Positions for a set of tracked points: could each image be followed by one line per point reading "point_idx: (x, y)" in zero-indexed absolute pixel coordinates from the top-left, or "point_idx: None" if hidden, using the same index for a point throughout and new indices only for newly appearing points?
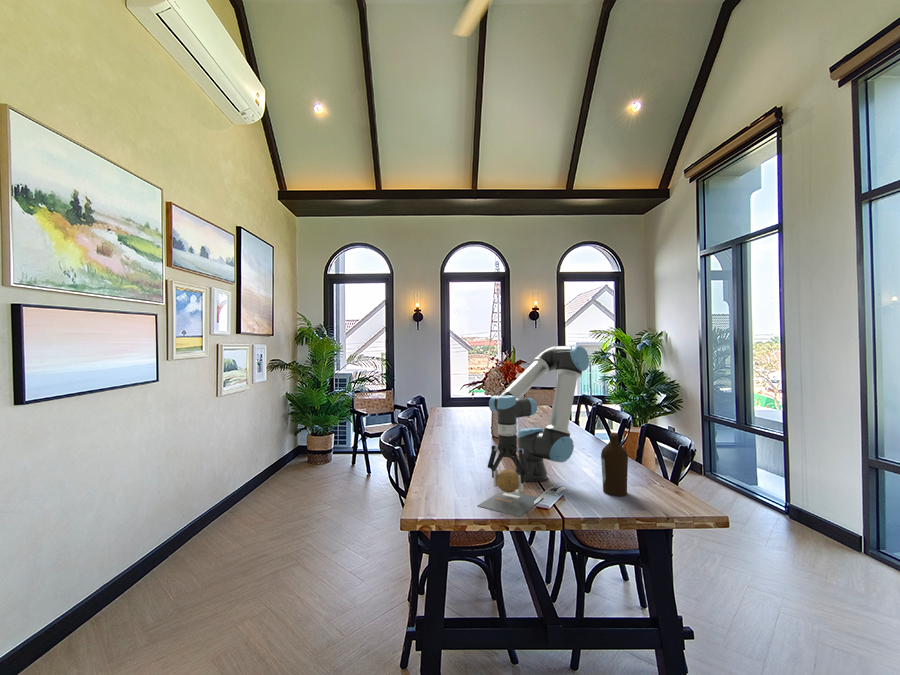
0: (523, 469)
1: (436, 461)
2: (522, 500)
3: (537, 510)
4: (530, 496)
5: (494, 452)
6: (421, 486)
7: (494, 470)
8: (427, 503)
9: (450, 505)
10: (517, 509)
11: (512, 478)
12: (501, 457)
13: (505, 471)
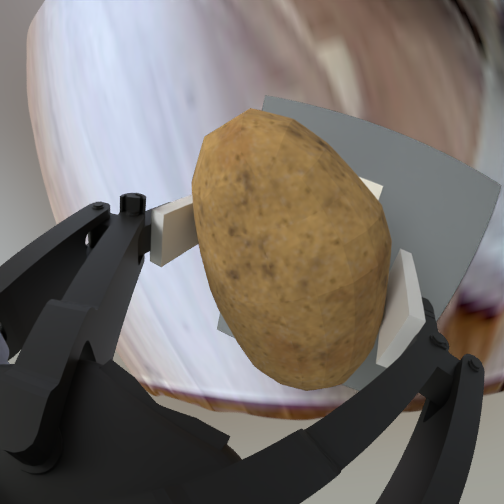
0: (418, 426)
1: (42, 7)
2: (399, 246)
3: (453, 337)
4: (439, 170)
5: (20, 337)
6: (52, 194)
7: (151, 250)
8: None
9: (152, 322)
10: (373, 353)
11: (327, 387)
12: (105, 356)
13: (238, 280)
